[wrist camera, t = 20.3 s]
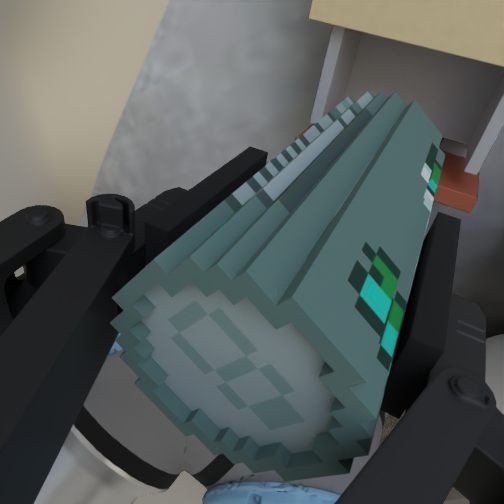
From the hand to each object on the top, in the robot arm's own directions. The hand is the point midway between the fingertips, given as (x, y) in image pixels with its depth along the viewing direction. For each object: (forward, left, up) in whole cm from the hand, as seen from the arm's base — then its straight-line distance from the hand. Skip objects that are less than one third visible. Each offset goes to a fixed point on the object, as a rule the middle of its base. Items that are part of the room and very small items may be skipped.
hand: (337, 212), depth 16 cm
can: (0, 0, -6) cm, 6 cm away
